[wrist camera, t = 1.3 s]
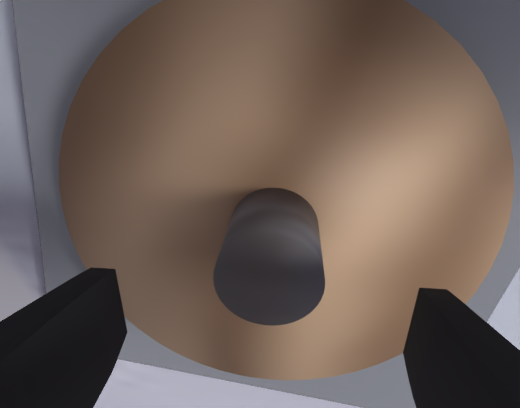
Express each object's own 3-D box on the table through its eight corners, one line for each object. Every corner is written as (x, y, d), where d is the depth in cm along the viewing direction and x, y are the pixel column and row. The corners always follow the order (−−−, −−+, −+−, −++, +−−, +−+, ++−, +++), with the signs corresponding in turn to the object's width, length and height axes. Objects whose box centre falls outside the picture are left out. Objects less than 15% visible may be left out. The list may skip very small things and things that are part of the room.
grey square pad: (679, -24, 9) (694, -25, 9) (425, 412, 17) (427, 420, 17) (5, -151, 10) (-7, -158, 9) (57, 339, 17) (52, 346, 17)
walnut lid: (600, 28, 10) (763, 28, 6) (407, 392, 16) (437, 487, 13) (55, -75, 10) (-73, -130, 6) (82, 329, 16) (26, 407, 13)
